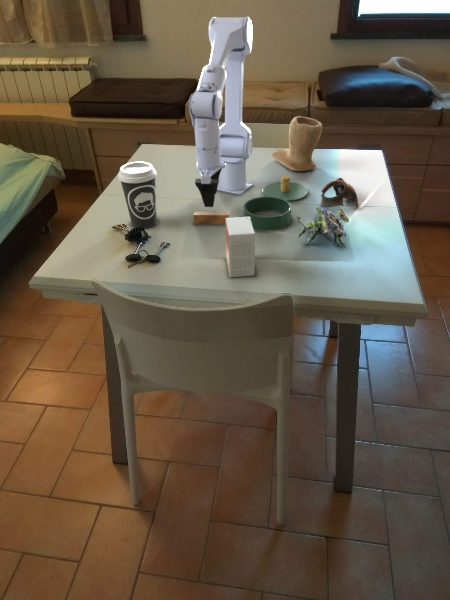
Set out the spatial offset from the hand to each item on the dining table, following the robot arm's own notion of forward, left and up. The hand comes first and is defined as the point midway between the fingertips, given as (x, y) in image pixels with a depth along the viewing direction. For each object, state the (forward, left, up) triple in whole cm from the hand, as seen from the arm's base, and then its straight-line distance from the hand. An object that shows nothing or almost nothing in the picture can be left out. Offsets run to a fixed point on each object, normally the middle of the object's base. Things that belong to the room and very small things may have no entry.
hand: (210, 199), depth 121 cm
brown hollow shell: (+25, +25, -7) cm, 36 cm away
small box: (+17, -15, -7) cm, 24 cm away
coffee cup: (-16, -8, -7) cm, 19 cm away
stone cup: (+3, +47, -7) cm, 48 cm away
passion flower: (+29, +3, -7) cm, 30 cm away
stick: (0, 0, -7) cm, 7 cm away
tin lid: (+9, +25, -6) cm, 27 cm away
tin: (+12, +8, -7) cm, 16 cm away
